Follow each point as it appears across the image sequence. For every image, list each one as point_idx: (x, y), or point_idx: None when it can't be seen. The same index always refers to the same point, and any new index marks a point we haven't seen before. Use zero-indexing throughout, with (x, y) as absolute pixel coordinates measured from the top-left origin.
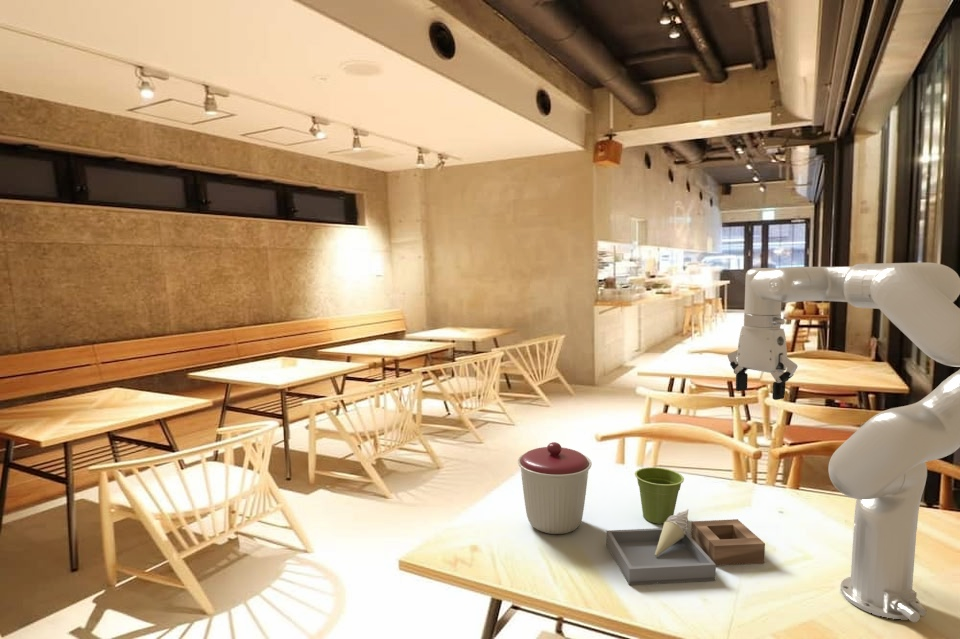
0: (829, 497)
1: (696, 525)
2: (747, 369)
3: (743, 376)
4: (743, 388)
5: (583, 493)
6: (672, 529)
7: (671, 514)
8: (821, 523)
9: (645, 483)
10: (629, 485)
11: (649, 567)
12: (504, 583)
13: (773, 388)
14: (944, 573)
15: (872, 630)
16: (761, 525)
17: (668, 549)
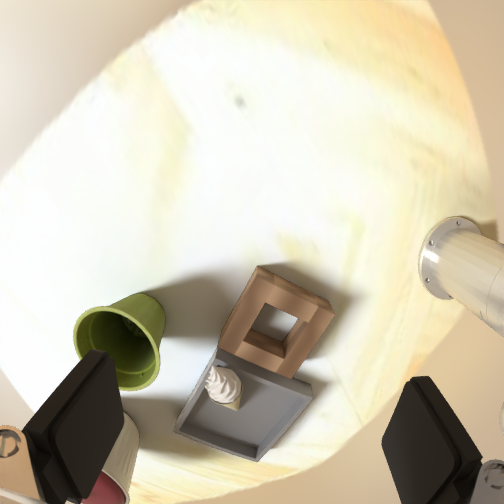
0: None
1: (232, 351)
2: (34, 478)
3: (75, 462)
4: (113, 393)
5: (122, 451)
6: (233, 403)
7: (163, 321)
8: (310, 86)
9: (127, 384)
10: (38, 254)
11: (267, 449)
12: (195, 497)
13: (403, 493)
14: (471, 118)
15: (456, 320)
16: (253, 186)
17: None
